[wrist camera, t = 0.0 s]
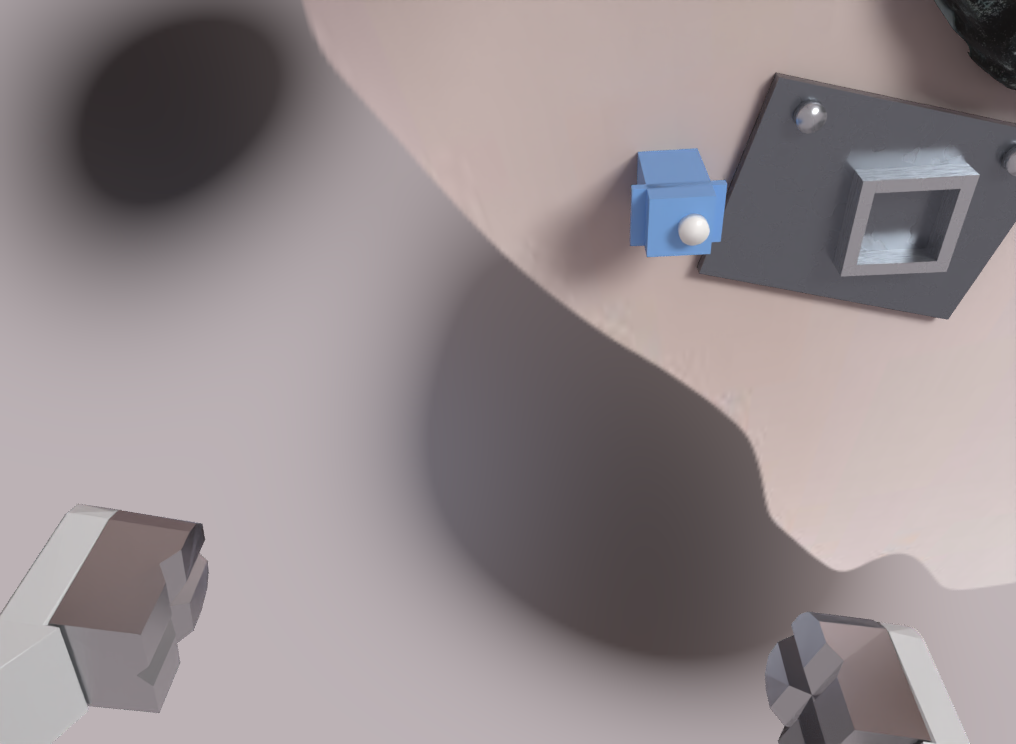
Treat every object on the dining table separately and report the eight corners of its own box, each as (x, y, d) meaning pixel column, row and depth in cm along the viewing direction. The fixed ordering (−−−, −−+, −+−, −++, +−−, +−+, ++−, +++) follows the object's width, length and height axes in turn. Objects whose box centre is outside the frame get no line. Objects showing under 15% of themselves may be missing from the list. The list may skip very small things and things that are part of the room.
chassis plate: (775, 72, 52) (786, 86, 49) (1064, 133, 53) (1088, 150, 51) (697, 267, 62) (703, 286, 59) (942, 312, 63) (958, 333, 61)
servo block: (624, 152, 56) (635, 205, 49) (710, 147, 55) (734, 200, 48) (623, 206, 58) (633, 263, 52) (705, 201, 58) (727, 259, 51)
